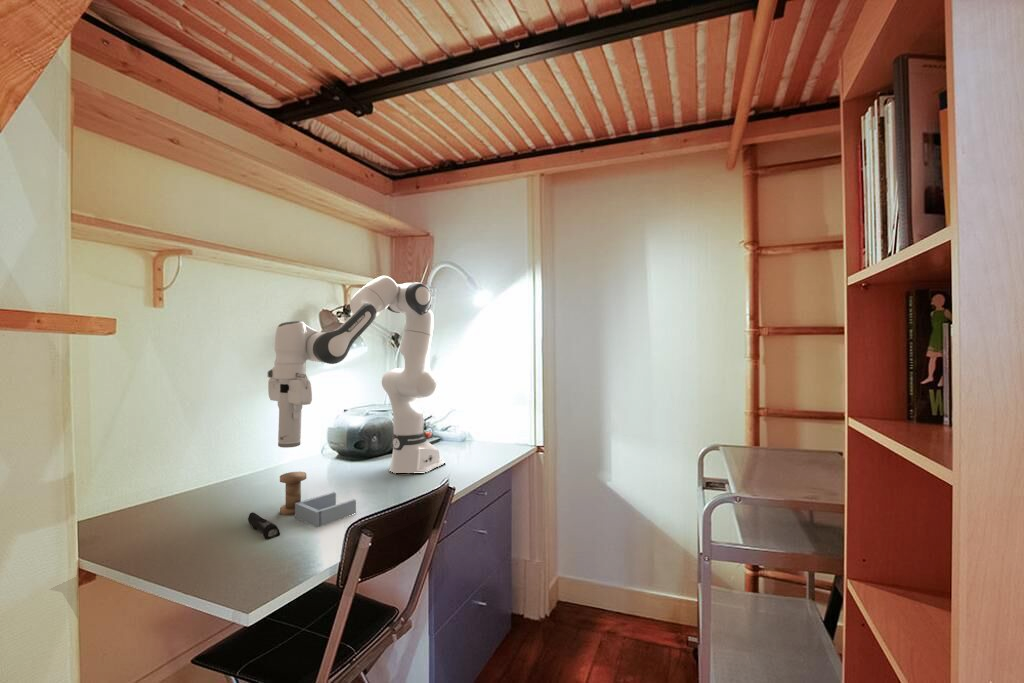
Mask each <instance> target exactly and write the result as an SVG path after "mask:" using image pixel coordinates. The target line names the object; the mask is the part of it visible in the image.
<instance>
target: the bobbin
mask: <svg viewBox="0 0 1024 683" xmlns="http://www.w3.org/2000/svg"><path fill="white" fill-rule="evenodd" d="M306 479H307V473H306V472H305V471H290V472H286V473H283V474H281V475H280V476H279V482H280V483H281V484H282V483H283V484H285V504H284V505H281V507H279V515H281V516H295V503H298V502H301V501H302V500H301V498H302V493H301V492H302V490H301V489H302V485H301V484H302V483H301V482H303V481H305V480H306Z"/></svg>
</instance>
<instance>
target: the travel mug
mask: <svg viewBox="0 0 1024 683" xmlns="http://www.w3.org/2000/svg"><path fill="white" fill-rule="evenodd" d="M288 390H289V385H288V384H280V401H279V407H278V432H277V433H278V435H277V441H278V442H277V447H279V448H284V449H285V448H294V447H295V448H296V447H299V446H301V438H302V437H301V436H302V434H301V432H302V411H303V410H302V409H303V408H302V409H301V412H300V418H298V419H294V418H292V413H293V412H294V407H293V404H291V403H288Z"/></svg>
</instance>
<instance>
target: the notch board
mask: <svg viewBox="0 0 1024 683" xmlns="http://www.w3.org/2000/svg"><path fill="white" fill-rule="evenodd" d="M354 513H356V514H357V499H354V498H353V499H349V500H347V501H346V500H345V501H343V502H340V503H337V493H336V492H335V491H332V492H328V493H326V494H325V493H324V494H322V495H318V496H315V497H312V498H309V499H304V500H301V502H298V503H295V515H294V516H295V517H294V518H295V519H297V520H300V521H302V522H304V523H307V524H308V525H311V526H313V527H315V528H320V527H322V526H326V525H328V524H331V523H333V522H337V521H340V520H342V518H343V519H345V518H344V517H346V518H348V517H350V516H349V515H351V516H353V515H352V514H354ZM354 515H355V514H354ZM347 516H348V517H347ZM339 519H340V520H339Z"/></svg>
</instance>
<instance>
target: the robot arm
mask: <svg viewBox="0 0 1024 683" xmlns="http://www.w3.org/2000/svg"><path fill="white" fill-rule="evenodd" d="M431 307H432V292H431V289H430V288H429V287H428V285H427V284H425V283H422V282H418V281H417V282H416V281H415V282H405V283H400V284H398V283H397V282H396V281H395V280H394V279H393V278H391V277H390V276H388V275H380V276H378V277H376V278H375V279H373V280H371V281H369V282H368V283H366V285H363V287H362V288H360V289H359V290H358V291H356V293H355V294H354V295H353V296H352V297H351V299H350V300H349V308H350V311H351V313H352V315H351V316H349V317H348V318H347V320H345V321H344V323H342V324H341V325H340V326H339V327H338V328H336V329H334V330H331V331H327V332H326V331H325V332H324V331H323V332H320V331H318V330H316V329H314V328H311V326H309V325H307V324H306V323H305V322H304V321H302V320H294V321H287V322H286V321H285V322H281V323H280V324H279V325H277V327H276V330H275V337H274V351H275V352H274V353H275V359H274V366H273V367H272V368H271V369H269V370H268V371H267V374H266V375H267V378H269V379H268V380H267V381H268V389H267V390H268V391H267V392H268V397H269V399H270V400H269V401H273V402H277V407H278V408H279V401H280V384H288V385H289V390H288V403H291V404H293V407H294V412H293V413H292V418H294V419H298V418H300V412H301V413H302V410H301V409H303V406H305V405H310V404H311V403H312V400H313V394H312V393H313V391H312V384H311V380H309V379H310V378H309V377H308V376H307V373H306V372H307V371H306V370H307V369H306V368H307V360H308V361H311V362H317V363H325V364H329V365H333V364H334V365H335V364H338V363H339V364H340V363H341V362H342V361H344V360H345V358H346V357H347V356H348V353H349V352H350V350H351V347H352V346H353V344H354V342H355V341H356V340H358V338H359V337H360V336H361V335H362V334H363V333H364V332H365V331H366V329H368V327H369V326H371V324H372V323H373V322H374V320H375V319H376V318H377V317H379V316H380V315H381V314H382V313H383V312H384V311H385V310H388V311H390V312H392V313H397V314H401V313H404V314H405V320H406V321H405V325H404V328H403V332H402V333H403V334H402V340H401V343H400V348H399V350H400V353H401V355H402V356H403V358H404V367H396V368H392V369H388V370H387V371H386V372H385V373H384V374H383V376H382V377H381V378H382V379H381V386H382V388H383V390H384V391H385V393H386V394H387V396H388V397H389V398H388V399H389V401H390V406H391V408H392V414H393V433H392V438H391V439H392V441H391V442H392V456H391V461H390V465H389V470H388V471H389V472H390V471H391V472H390V473H392V472H393V473H392V474H396V473H414V472H426V471H428V470H430V469H433V468H436V467H438V466H440V465H442V464H444V463H446V460H444V459H441V457H440V451H439V449H438V448H437V447H436V446H435V445H433V444H431V442H429V441H428V440H427V438H431V437H432V432H429V431H423V430H424V413H423V410H422V409H421V407H420V406H419V405H418V404H419V403H418V402H417V400H416V399H421V398H427V397H430V396H431V395H433V394H434V392H435V390H436V387H437V381H436V377H435V375H434V374H433V373H432V371H431V367H430V350H431V345H432V344H431V343H432V338H433V334H434V333H433V331H434V313H433V312H432V310H431ZM438 468H439V467H438ZM436 469H437V468H436Z"/></svg>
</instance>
